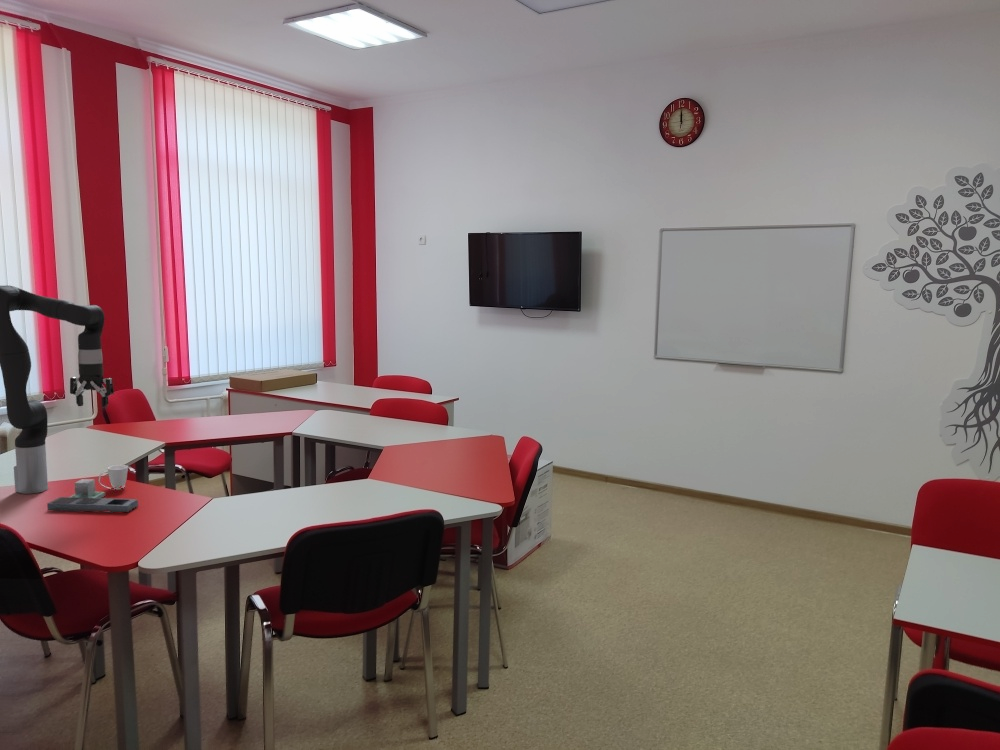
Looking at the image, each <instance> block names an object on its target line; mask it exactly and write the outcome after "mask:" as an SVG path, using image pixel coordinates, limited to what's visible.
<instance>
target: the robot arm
mask: <svg viewBox="0 0 1000 750" xmlns="http://www.w3.org/2000/svg"><path fill="white" fill-rule="evenodd" d="M14 311H29V312H35V313H37V314H40V315H42V316H44V317H47V318H51V319H55V320H59V321H64V322H67V323H69V324H73V325H76V326H81V327H84V329H83V331H82V332H80V333H79V334H78V336H77V345H78V347H77V348H78V350H77V351H78V353H77V360H78V362H77V363H78V375H79V377H77V376H72V377H70V378H69V380H70V381H69V393H70V395H75V402H76V405H77V407H83V406H84V395H83V394H84V393H85V391H96V392H97V393H99V394H100V395H101V408H107V407H108V405H109V396H111V395H114V393H115V391H114V390H115V389H114V382H113V381H114V380H113V378H112V377H109V378H104V362H103V361H104V359H103V351H102V334H103V330H104V326H105V320H106V319H105V313H104V311H103V309H102V308H101V307H100V306H98V305H96V304H91V305H90V304H89V305H77V304H75V303H74V302H72V301H69V300H63V299H59V298H55V297H49V296H48V297H47V296H43V295H40V294H35V293H32V292H31V291H30V292H29V291H27V290H25V289H22V288H20V287H17V286H13V285H7V284H6V285H0V369H1V370H0V371H1V374H2V375H1V376H2V380H3V385H4V392H5V394H4V395H5V403H6V404H5V405H6V415H7V416H6V417H7V419H8V421H9V423H10V425H11V426H12V427H13V428H14V429H18V430H21V432H19V435H18V436H16V438H15V439H14V449H15V450H14V451H15V463H16V465H15V466H14V467H13V477H14V478H13V479H14V492H15V493H19V494H22V495H23V494H24V495H28V494H30V495H31V494H38V493H42V492H45V491H47V490H48V489H49V483H48V482H49V481H48V466H47V465H48V464H47V463H48V461H47V449H46V448H47V447H46V438H47V437H48V411H47V408H46V406H45V405H44V404H43V403H42V402H41V401H39V400H29V399H28V395H27V386H28V380H29V377H30V373H31V370H32V360H31V356H30V351H29V346H28V345H27V343H26V341H25V340H24V339H23V337H22V336H21V334H19V332H18V331H17V330H16V328H15V326H14V325H13V322H12V318H11V313H10V312H14ZM79 383H80V386H79V387H78V384H79ZM103 384H105V385H103Z"/></svg>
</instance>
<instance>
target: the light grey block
mask: <svg viewBox="0 0 1000 750" xmlns="http://www.w3.org/2000/svg"><path fill="white" fill-rule="evenodd" d="M95 492H96V481H95V479H94V478H91V479H89V478H88V479H87V478H82V479H79V480H77V481H76V482H74V494H75V497H78V498H93V497H95Z"/></svg>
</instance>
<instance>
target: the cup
mask: <svg viewBox="0 0 1000 750" xmlns="http://www.w3.org/2000/svg"><path fill="white" fill-rule="evenodd" d="M128 469H129V465H127V464H126V465H125V464H115V465H110V466H108V467H107V470H105V471H102V472H101V473H100V474H99V476H98V483H99V484H100V486H102V487H103V488H106V489H107V490H112V489H111V488H114V489H113V490H115V489H116V490H122V489H121V488H123V489H125V488H126V482H127V478H128ZM103 474H108V477H109V483H110V484H111V487H108V486H107V485H104V484H102V483H101V477H102V475H103ZM120 486H122V487H121V488H119V487H120ZM115 487H116V488H115ZM124 487H125V488H124Z"/></svg>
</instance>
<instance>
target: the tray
mask: <svg viewBox="0 0 1000 750" xmlns="http://www.w3.org/2000/svg"><path fill="white" fill-rule="evenodd" d="M104 496H105V497H106V491H95V497H93V498H102V497H103V498H105V497H104ZM69 497H75V493H74V494H72V495H71V496H69Z"/></svg>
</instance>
